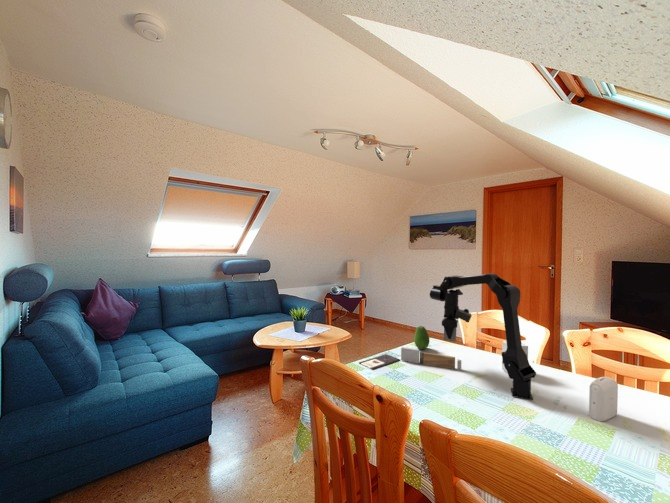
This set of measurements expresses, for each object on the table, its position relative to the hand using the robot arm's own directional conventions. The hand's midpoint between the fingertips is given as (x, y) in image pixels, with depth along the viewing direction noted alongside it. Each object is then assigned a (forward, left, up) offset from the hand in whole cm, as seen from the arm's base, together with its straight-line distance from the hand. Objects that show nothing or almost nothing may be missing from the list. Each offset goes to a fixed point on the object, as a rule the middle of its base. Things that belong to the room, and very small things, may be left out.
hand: (450, 337), depth 139 cm
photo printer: (-23, -48, -13) cm, 55 cm away
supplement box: (+4, -26, -13) cm, 29 cm away
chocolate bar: (-10, +30, -13) cm, 34 cm away
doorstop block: (0, 0, -1) cm, 1 cm away
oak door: (-3, +5, -13) cm, 14 cm away
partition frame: (-3, +8, -13) cm, 15 cm away
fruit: (+17, +15, -13) cm, 26 cm away
